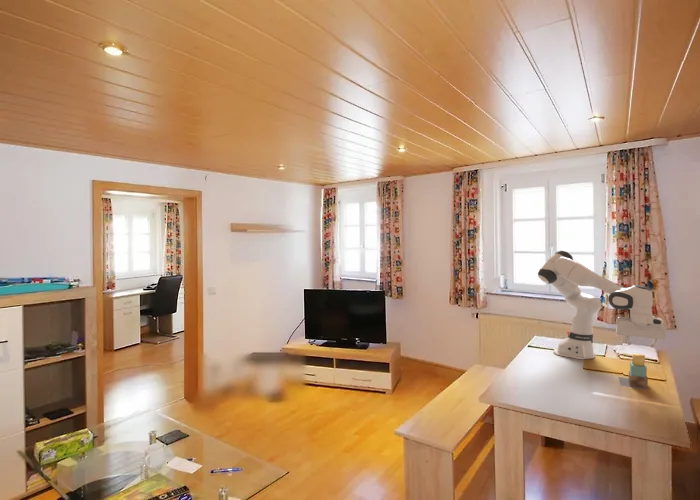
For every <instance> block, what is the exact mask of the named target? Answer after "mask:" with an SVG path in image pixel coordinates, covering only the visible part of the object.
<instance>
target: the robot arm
mask: <svg viewBox="0 0 700 500" xmlns="http://www.w3.org/2000/svg"><path fill="white" fill-rule="evenodd" d="M537 276H538V278H539V279H540V280H541V281H542V282H544V283H545V284H548V285H549V284H551V285H552V286H554V288H555V289H556V290H557V291H558V292H559V293H560V294H561V296H562V297H564V300H565V302H566V304H567V305H568V306H569V307H571V308H573V309H575V310H576V313H575V316H574V317H573V318H572V319H571V330H567V337H566V338H564V339H562V340H560V341H559V343H558V344H557V347H556V348H554V349H553V353H554V354H555V355H557V356H561V357H567V358H571V359H578V360H590V359H591V360H592V359H595V358H596V356H595V352H594V345H593V343H594V333H593V328H594V327H593V326H594V325H593V324H594V319H595V316H596V314H597V313H598V312H599V311H600V310H601V308H602V302H601V300H600V299H599V298H597V297H596V296H594V294H593V295H592V294H589V293H586V292H584V291H582V290H581V289H580V288H579V287H590V288H591V287H593V288H597V289H599V290H601V291H603V292H605V293H607V294H609V295H608V298H607V299H608V304H609V305H610V307H612V308H613V309H616V310H630V311H629V314H630V315H629V317H628V316H618V317H617V318H615V324H616V329H615V333H616V334H617V335H618V336H624V337H623V338H624V339H625V340H626V345H629V346H631V342H632V341H631V340H629V337H635V338H644V339H652V340H653V341H652V342H650V343H649V347H650V348H655V345H656V343H657V342H658V340H666V339H667V337H668V335H667V328H666V326H665V325H664V324H665V321H664V320H663V319H662V318H661V317H658V316H655V315H653V310H652V309H653V304H654V300H653V298H654V297H653V296H654V295H653V290H652V289H651V288H650V287H648V286H645V285H640V284H634V285H632V286H630V287H625V286H622V285H619V284H617V283H615V282H614V281H611V280H609V279H608V278H605V277H603V276H602V275H599V274H598V273H596V272H594V271H593V270H592V269H589V268H588V267H586V266H585V265H583V264H581V263H579V262H578V261H575V260H574V257H573V256H572V254H570V253H569V252H568V251H566V250H563V249H560V250H557V251H556V252H555V253H554V254H553V255H552V256H551V257H550V258H548V259H547V260H546V262H545V263H544V265H543V266H542V267H541V268H540V269H539V270H538V272H537Z"/></svg>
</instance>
